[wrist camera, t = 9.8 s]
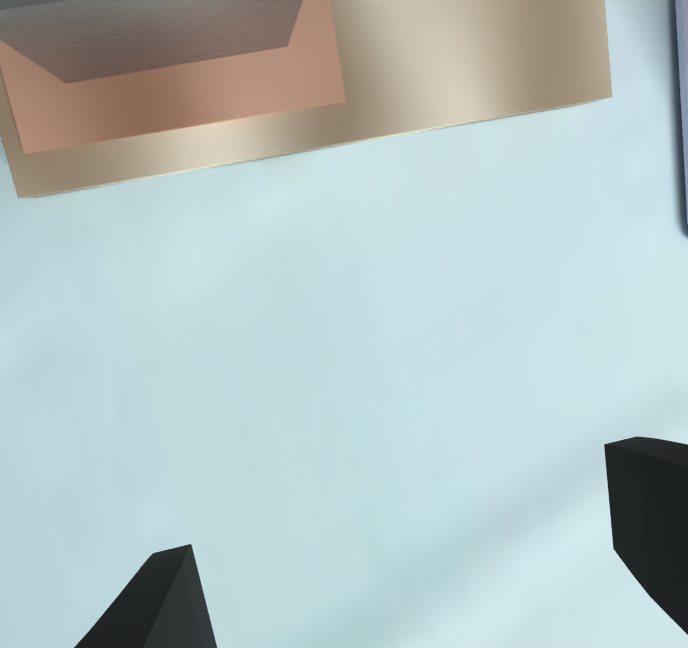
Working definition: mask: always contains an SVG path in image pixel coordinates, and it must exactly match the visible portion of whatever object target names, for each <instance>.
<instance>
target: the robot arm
mask: <svg viewBox="0 0 688 648" xmlns="http://www.w3.org/2000/svg"><path fill="white" fill-rule="evenodd" d="M675 4H676V22H677V40H678V58H679V77H680V95H681V113H682V132H683V150H684V168H685V186H686V205H687V223H688V0H675ZM604 447H605V458H606V469H607V480H608V492H609V503H610V514H611V525H612V536H613V547H614V550H615V551H616V553H617V554H618V555H619V557H620V558H621V559H622V561H623V562H624V564H625V565H626V566H627V568H628V569H629V570H630V572H631V573H632V574H633V576H634V577H635V578H636V579H637V581H638V582H639V583H640V584H641V586H642V587H643V588H644V589H645V591H646V592H647V593H648V595H649V596H650V597H651V598H652V599H653V600H654V601H655V602H656V603H657V604H658V605H659V606H660V607H661V608H662V609H663V610H664V611H665V612H666V613H667V614H668V615H669V616H670V617H671V618H672V619H673V620H674V621H675V622H676V623H677V624H678V625H679V626H680V627H681V628H682V629H683V630H684V631H685V632H686V633H687V634H688V445H687V444H682V443H677V442H672V441H667V440H661V439H654V438H646V437H633V438H629V439H625V440H621V441H616V442H612V443H608V444H604ZM74 648H217V645H216V641H215V637H214V633H213V629H212V625H211V621H210V617H209V613H208V609H207V605H206V601H205V597H204V593H203V589H202V585H201V581H200V577H199V573H198V569H197V565H196V561H195V557H194V553H193V549H192V545H191V544H189V545H185V546H181V547H177V548H173V549H169V550H164V551H160V552H156V553H153V554H152V555H151V556H150V557H149V558H148V559H147V561H146V562H145V563H144V564H143V565H142V567H141V568H140V569H139V570H138V572H137V573H136V574H135V575H134V577H133V578H132V579H131V580H130V582H129V583H128V584H127V585H126V587H125V588H124V589H123V591H122V592H121V593H120V594H119V596H118V597H117V598H116V599H115V600H114V602H113V603H112V604H111V605H110V606H109V608H108V609H107V610H106V611H105V613H104V614H103V615H102V616H101V617H100V619H99V620H98V621H97V622H96V623H95V625H94V626H93V627H92V628H91V629H90V631H89V632H88V633H87V634H86V635H85V636H84V637H83V638H82V640H81V641H80V642H79V643H78V644H77V645H76V646H75V647H74Z"/></svg>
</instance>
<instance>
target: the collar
mask: <svg viewBox="0 0 688 648" xmlns="http://www.w3.org/2000/svg"><path fill="white" fill-rule="evenodd" d="M302 2H303V0H0V40H1V41H2V42H4V43H5V44H7V45H8V46H10V47H12V48H13V49H15V50H16V51H18V52H19V53H21V54H22V55H24V56H25V57H27V58H28V59H30V60H31V61H33V62H34V63H36V64H37V65H39V66H40V67H42V68H43V69H45V70H46V71H48V72H49V73H51V74H52V75H54V76H55V77H57V78H58V79H60V80H61V81H63V82H64V83H66V84H68V83H74V82H80V81H86V80H92V79H97V78H103V77H109V76H115V75H121V74H127V73H133V72H139V71H145V70H151V69H157V68H163V67H169V66H175V65H181V64H187V63H193V62H199V61H205V60H211V59H217V58H223V57H228V56H234V55H240V54H246V53H252V52H258V51H264V50H270V49H276V48H282V47H287V46H288V43H289V40H290V37H291V34H292V31H293V28H294V26H295V23H296V20H297V17H298V14H299V11H300V8H301V5H302Z"/></svg>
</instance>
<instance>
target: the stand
mask: <svg viewBox="0 0 688 648" xmlns="http://www.w3.org/2000/svg"><path fill="white" fill-rule="evenodd" d="M610 97H612V89H611V76H610V63H609V50H608V37H607V24H606V11H605V0H303V2H302V5H301V8H300V11H299V14H298V17H297V20H296V23H295V26H294V28H293V31H292V34H291V37H290V40H289V43H288V46H287V47H282V48H276V49H270V50H264V51H258V52H252V53H246V54H240V55H234V56H228V57H223V58H217V59H211V60H205V61H199V62H193V63H187V64H181V65H175V66H169V67H163V68H157V69H151V70H145V71H139V72H133V73H127V74H121V75H115V76H109V77H103V78H97V79H92V80H86V81H80V82H74V83H68V84H66V83H64V82H63V81H61V80H60V79H58V78H57V77H55V76H54V75H52V74H51V73H49V72H48V71H46V70H45V69H43V68H42V67H40V66H39V65H37V64H36V63H34V62H33V61H31V60H30V59H28V58H27V57H25V56H24V55H22V54H21V53H19V52H18V51H16V50H15V49H13V48H12V47H10V46H8V45H7V44H5V43H4V42H2V41H1V40H0V134H1V138H2V142H3V145H4V149H5V152H6V156H7V160H8V163H9V167H10V170H11V174H12V178H13V181H14V185H15V188H16V192H17V195H18V198H38V197H43V196H49V195H55V194H61V193H67V192H73V191H79V190H85V189H90V188H96V187H102V186H108V185H114V184H120V183H126V182H131V181H137V180H143V179H149V178H155V177H161V176H167V175H172V174H178V173H184V172H190V171H196V170H202V169H208V168H214V167H219V166H225V165H231V164H237V163H243V162H249V161H255V160H260V159H266V158H272V157H278V156H284V155H290V154H296V153H302V152H307V151H313V150H319V149H325V148H331V147H337V146H343V145H348V144H354V143H360V142H366V141H372V140H378V139H384V138H389V137H395V136H401V135H407V134H413V133H419V132H425V131H431V130H436V129H442V128H448V127H454V126H460V125H466V124H472V123H477V122H483V121H489V120H495V119H501V118H507V117H513V116H518V115H524V114H530V113H536V112H542V111H548V110H554V109H560V108H565V107H571V106H577V105H583V104H587V103H591V102H595V101H598V100H602V99H606V98H610Z"/></svg>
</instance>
